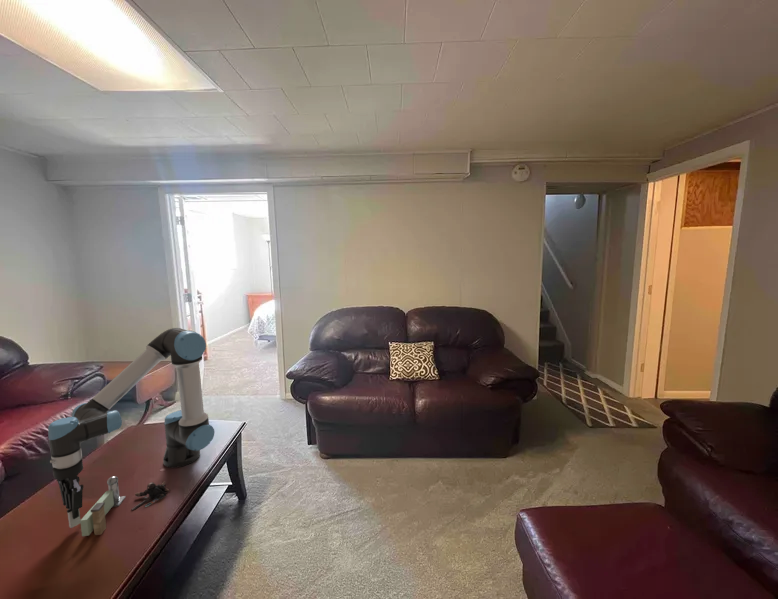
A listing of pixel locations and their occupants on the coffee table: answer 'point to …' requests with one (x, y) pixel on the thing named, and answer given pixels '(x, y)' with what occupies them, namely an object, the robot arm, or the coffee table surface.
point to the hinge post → (115, 490)
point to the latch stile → (99, 518)
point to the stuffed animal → (152, 494)
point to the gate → (88, 519)
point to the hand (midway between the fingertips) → (75, 524)
